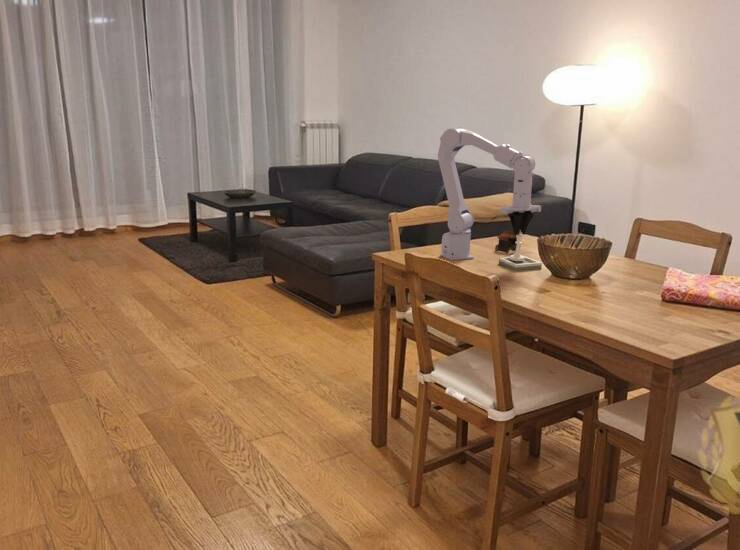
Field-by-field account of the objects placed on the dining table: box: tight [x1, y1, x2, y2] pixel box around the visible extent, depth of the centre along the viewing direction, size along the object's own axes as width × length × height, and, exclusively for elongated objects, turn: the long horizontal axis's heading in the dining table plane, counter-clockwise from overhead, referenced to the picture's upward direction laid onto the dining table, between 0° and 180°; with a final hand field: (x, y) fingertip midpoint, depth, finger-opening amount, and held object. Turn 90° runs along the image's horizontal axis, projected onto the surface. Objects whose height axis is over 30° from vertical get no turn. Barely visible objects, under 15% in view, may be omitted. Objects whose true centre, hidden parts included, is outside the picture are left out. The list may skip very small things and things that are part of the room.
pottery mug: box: [494, 230, 522, 254], centre depth 239 cm, size 12×10×8 cm
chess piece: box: [509, 230, 525, 261], centre depth 218 cm, size 5×5×10 cm
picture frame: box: [498, 255, 543, 272], centre depth 218 cm, size 10×10×2 cm
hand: (519, 234), depth 217 cm, fingers closed
